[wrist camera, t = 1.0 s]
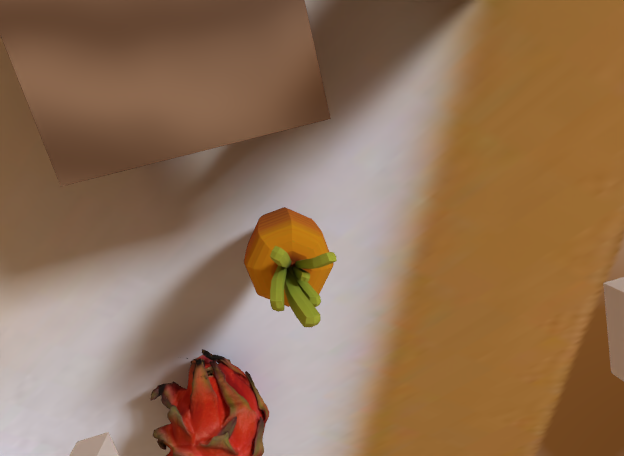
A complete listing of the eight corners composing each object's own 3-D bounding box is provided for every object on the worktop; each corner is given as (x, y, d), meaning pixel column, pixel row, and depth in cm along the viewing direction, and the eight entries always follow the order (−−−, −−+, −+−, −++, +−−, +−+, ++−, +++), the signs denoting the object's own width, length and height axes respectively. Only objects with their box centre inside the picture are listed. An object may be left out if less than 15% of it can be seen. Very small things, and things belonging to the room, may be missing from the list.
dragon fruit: (211, 450, 40) (209, 322, 39) (291, 481, 36) (291, 339, 34) (133, 510, 32) (127, 354, 31) (221, 557, 28) (218, 380, 27)
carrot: (248, 189, 33) (241, 243, 18) (313, 191, 33) (355, 245, 19) (247, 252, 34) (239, 349, 20) (310, 253, 35) (348, 347, 20)
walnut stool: (45, -48, 28) (-69, -138, 18) (258, -95, 28) (259, -205, 19) (121, 166, 31) (60, 186, 22) (308, 119, 32) (330, 118, 22)
